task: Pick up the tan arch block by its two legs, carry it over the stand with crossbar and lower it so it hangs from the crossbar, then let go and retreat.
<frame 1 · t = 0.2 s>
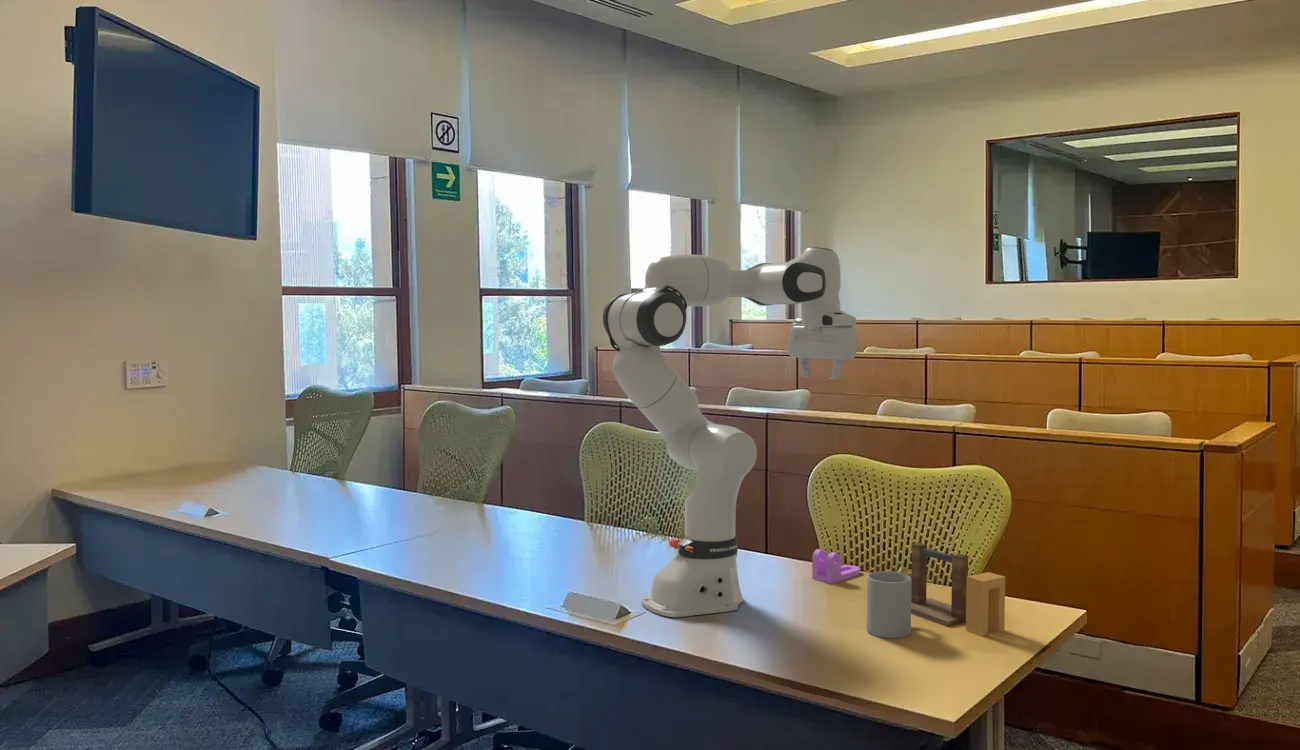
hand: (820, 378, 220), 48 cm above the table, fingers open, 8 cm apart
mug: (891, 630, 188), on the table
tan arch block: (985, 630, 187), on the table
stand with crossbar: (938, 614, 197), on the table
bracket 2: (838, 577, 226), on the table
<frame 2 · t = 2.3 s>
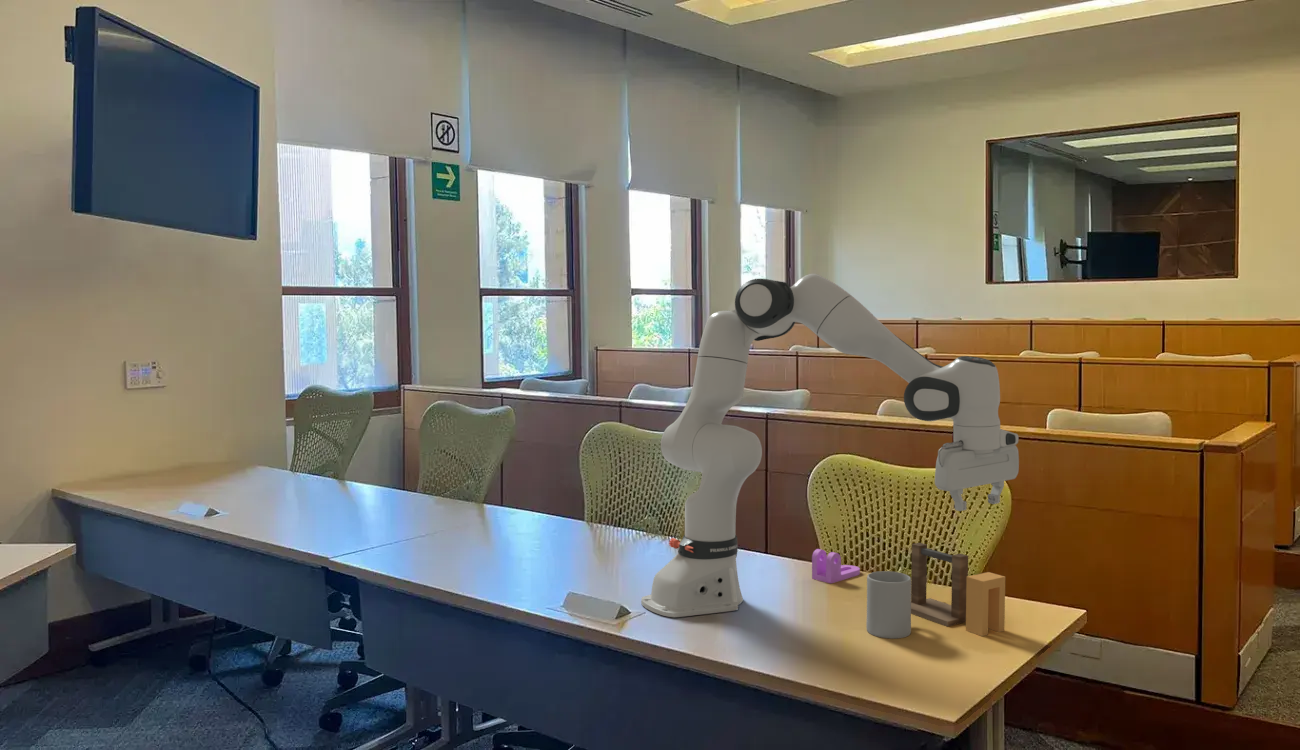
hand: (977, 506, 189), 24 cm above the table, fingers open, 8 cm apart
nothing on the table moved.
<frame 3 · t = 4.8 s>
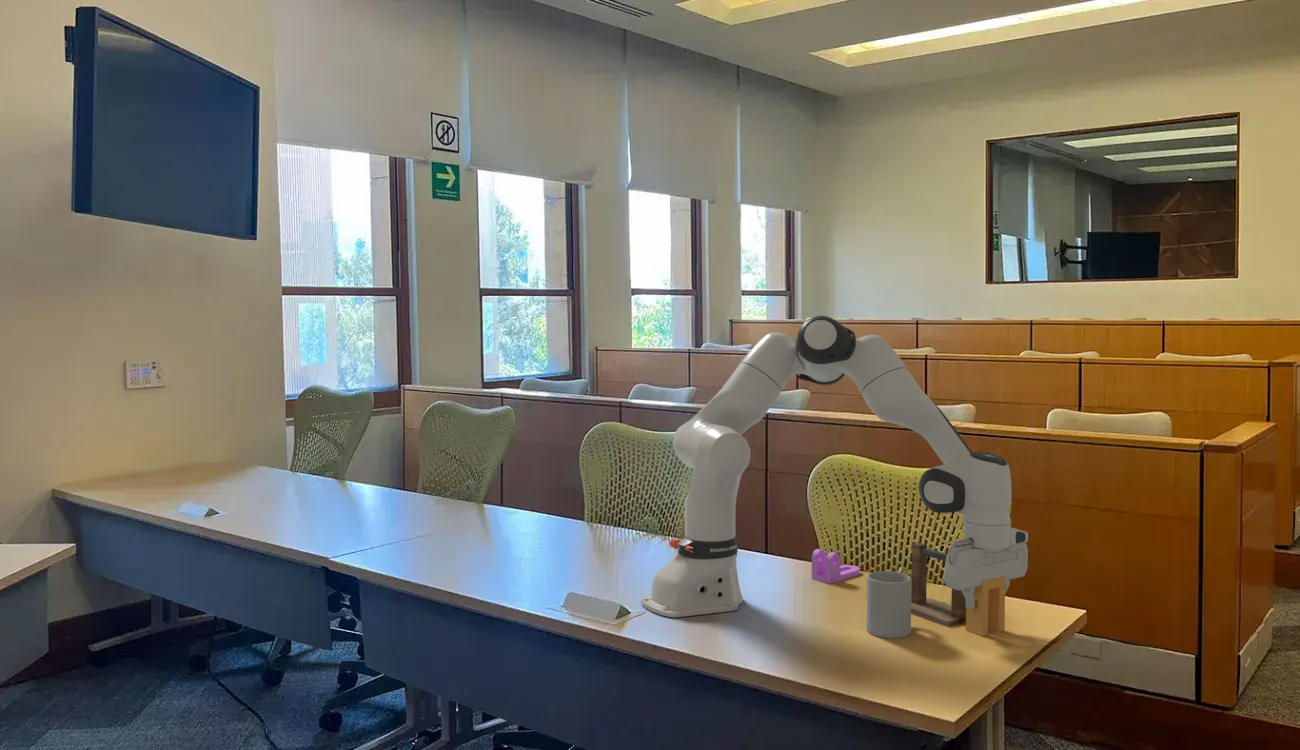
hand: (985, 604, 186), 5 cm above the table, fingers closed on tan arch block, 6 cm apart
tan arch block: (985, 630, 187), on the table, touching gripper
everything else where it was.
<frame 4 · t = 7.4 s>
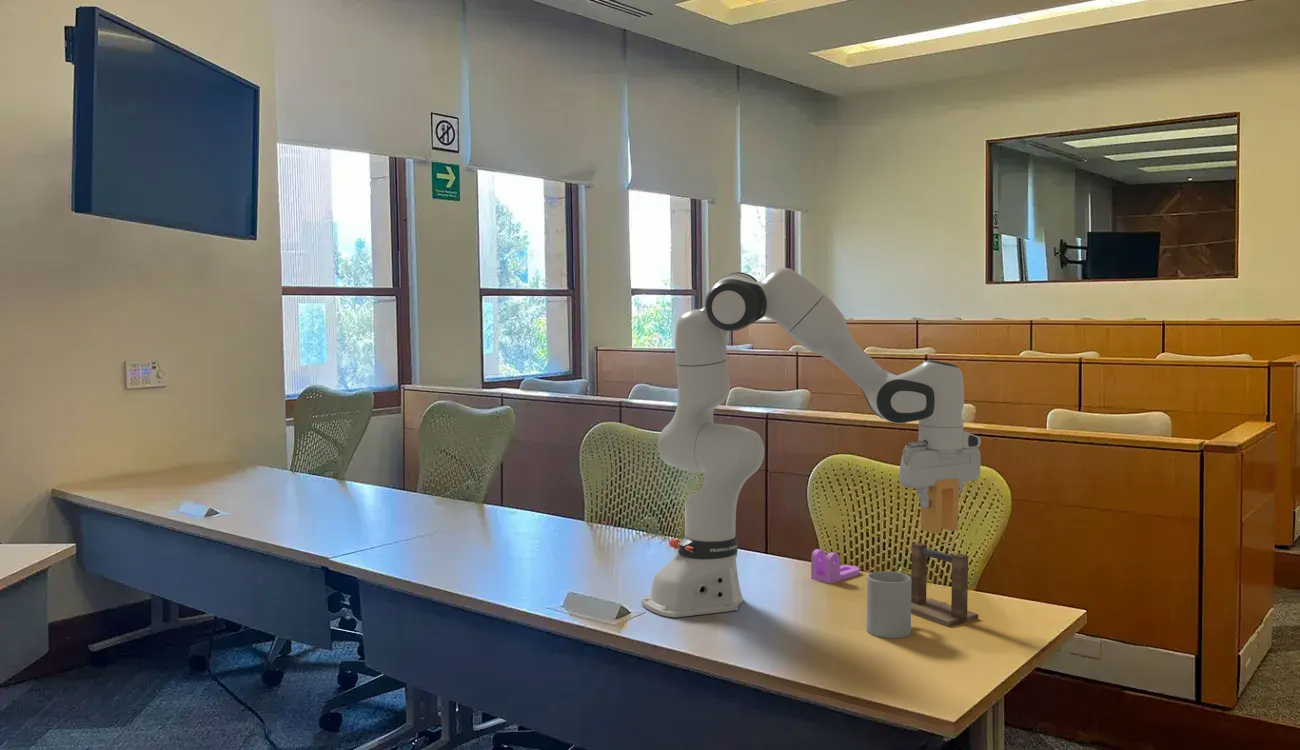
hand: (939, 505, 195), 23 cm above the table, fingers closed on tan arch block, 6 cm apart
tan arch block: (939, 530, 196), point 18 cm above the table, touching gripper
everything else where it was.
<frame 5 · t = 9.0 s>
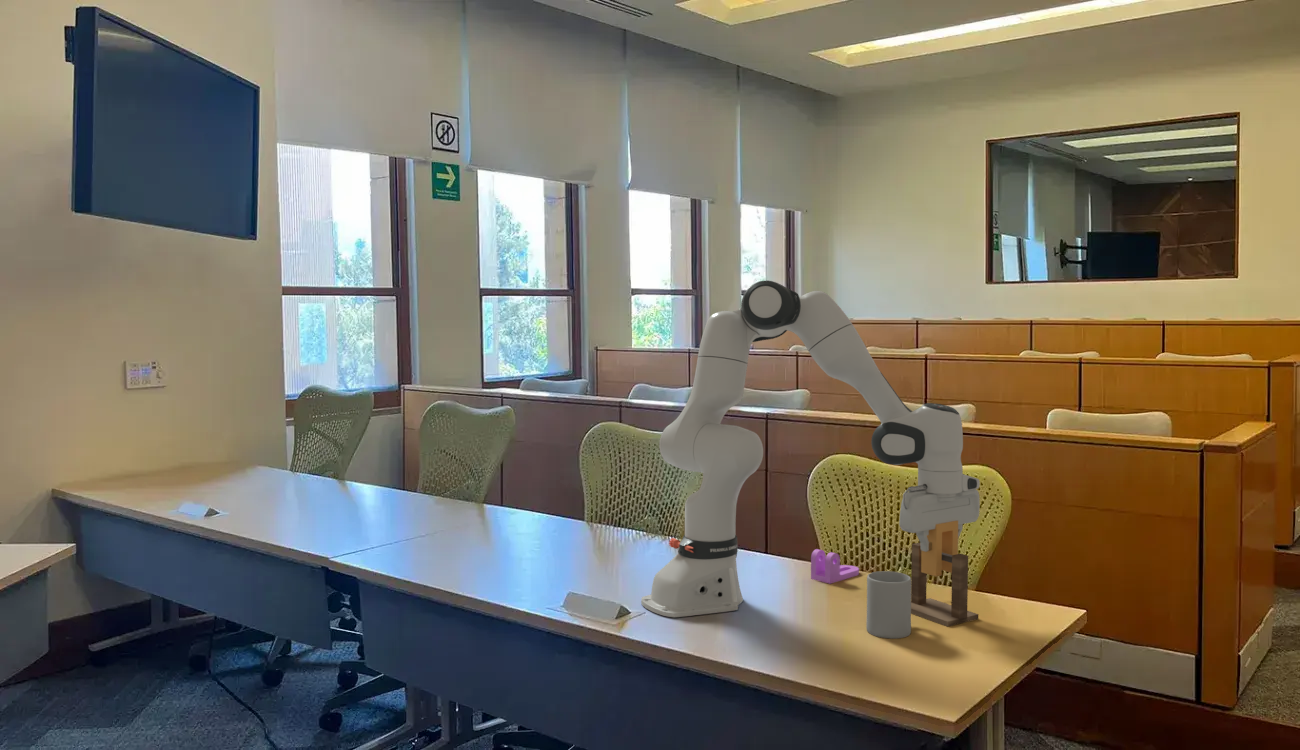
hand: (939, 548, 197), 14 cm above the table, fingers closed on tan arch block, 6 cm apart
tan arch block: (939, 572, 197), point 9 cm above the table, touching gripper
everything else where it was.
when the fingers open (10 cm above the table, at t = 10.3 s): tan arch block stays where it is, resting on stand with crossbar.
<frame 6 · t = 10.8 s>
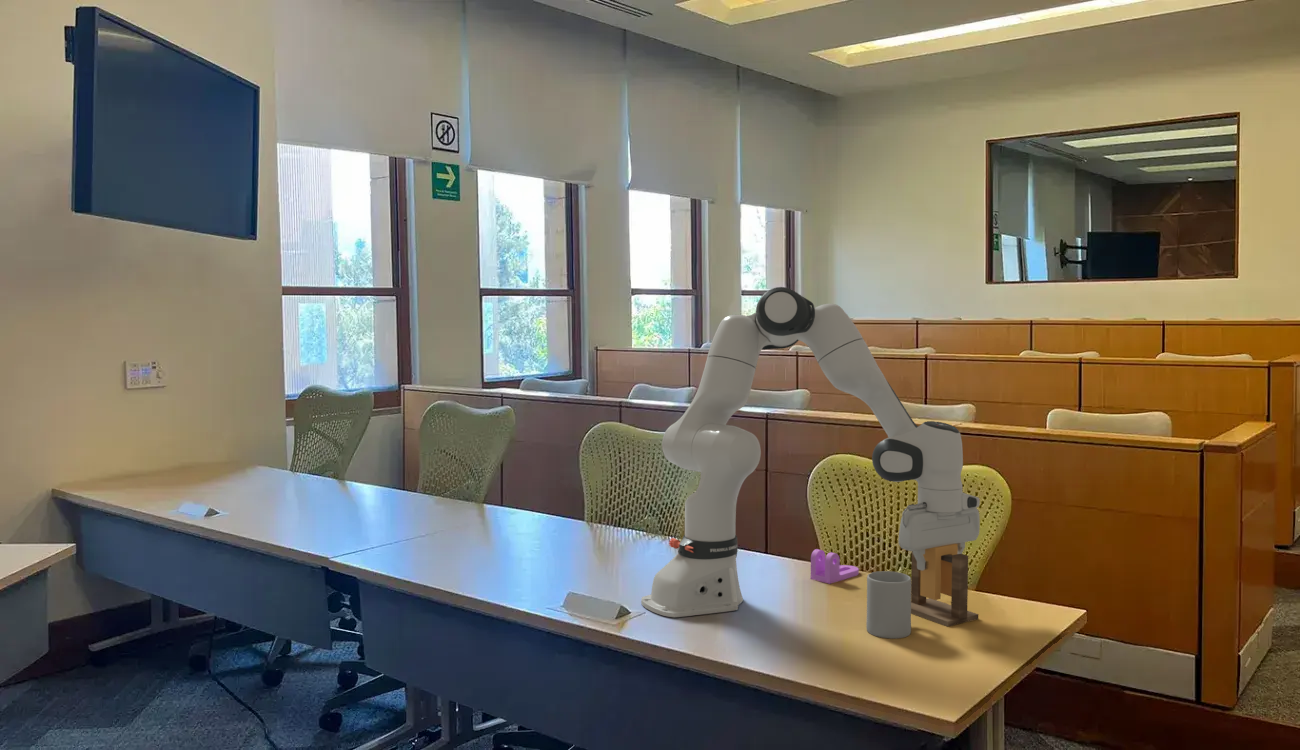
hand: (938, 566, 196), 10 cm above the table, fingers open, 8 cm apart
tan arch block: (938, 595, 197), point 4 cm above the table, touching stand with crossbar
everything else where it was.
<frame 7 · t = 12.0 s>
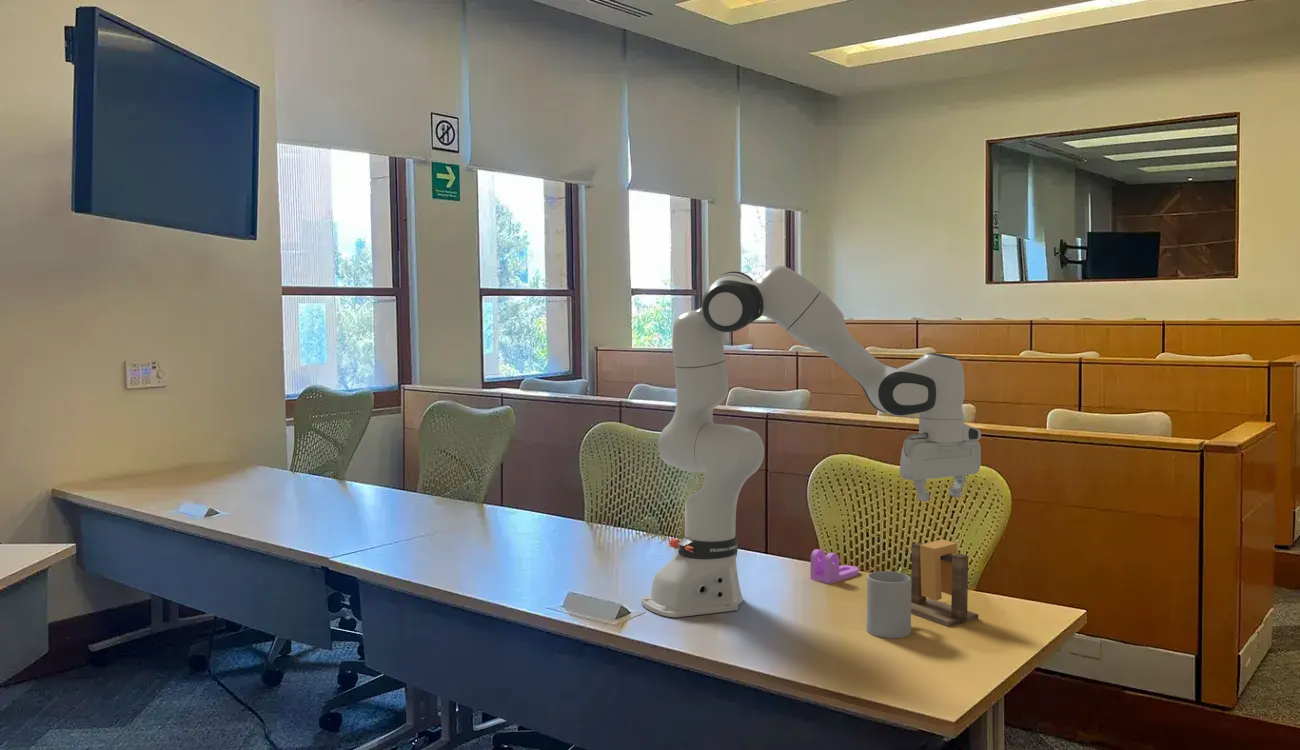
hand: (939, 498, 195), 24 cm above the table, fingers open, 8 cm apart
nothing on the table moved.
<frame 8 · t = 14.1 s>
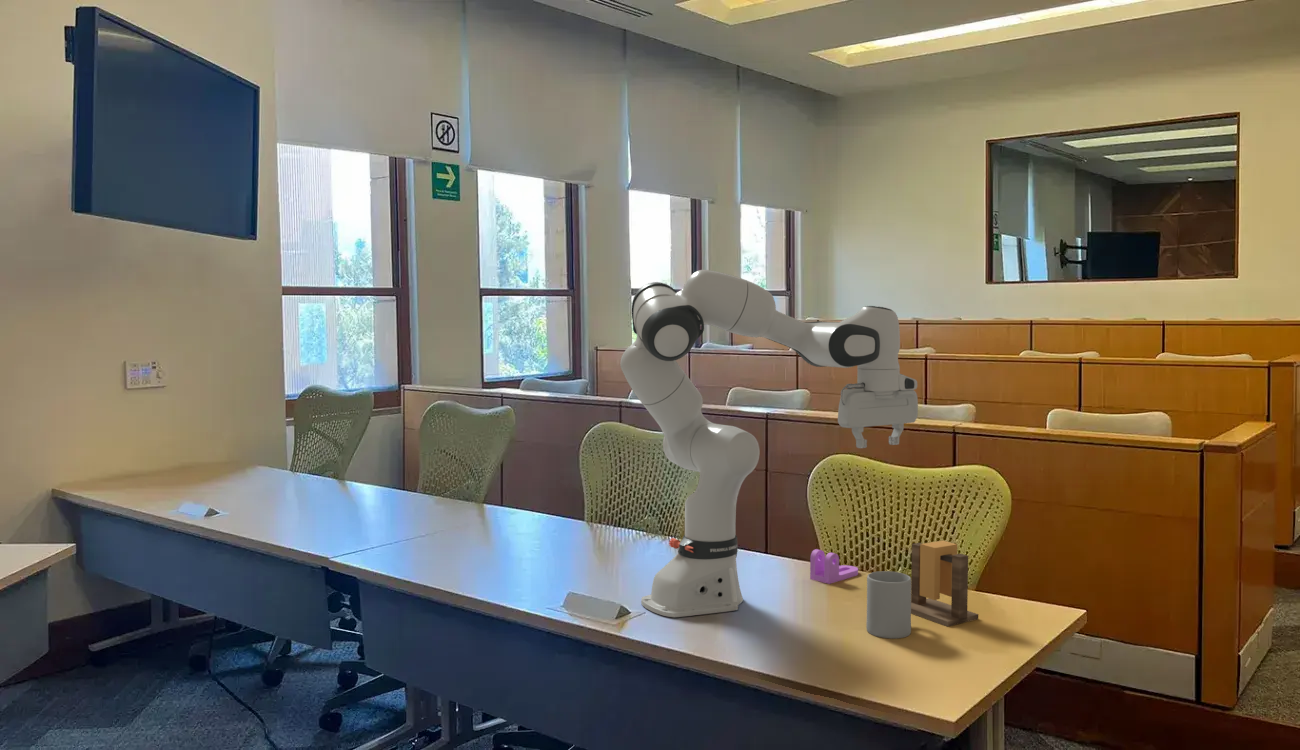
hand: (877, 446, 203), 34 cm above the table, fingers open, 8 cm apart
nothing on the table moved.
at the end: tan arch block 0.2 cm off-centre on the stand with crossbar, point 4.0 cm above the stand with crossbar's base; tan arch block point 4.0 cm above the table; the gripper is holding nothing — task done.
